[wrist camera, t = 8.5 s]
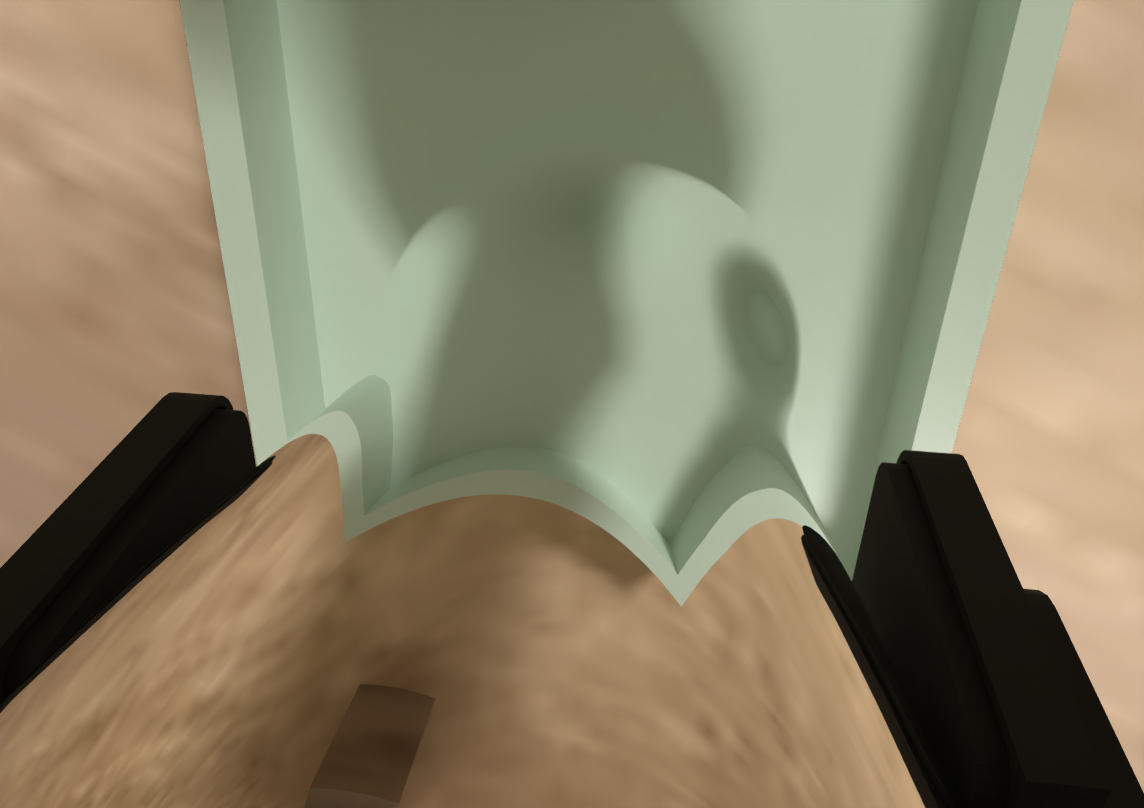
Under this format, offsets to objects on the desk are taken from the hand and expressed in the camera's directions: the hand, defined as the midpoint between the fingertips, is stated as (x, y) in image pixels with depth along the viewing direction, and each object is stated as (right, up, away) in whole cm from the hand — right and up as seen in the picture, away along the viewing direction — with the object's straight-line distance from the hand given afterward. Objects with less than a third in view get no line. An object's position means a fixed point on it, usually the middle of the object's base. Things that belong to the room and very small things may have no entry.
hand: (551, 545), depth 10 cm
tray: (+1, +4, +6) cm, 7 cm away
